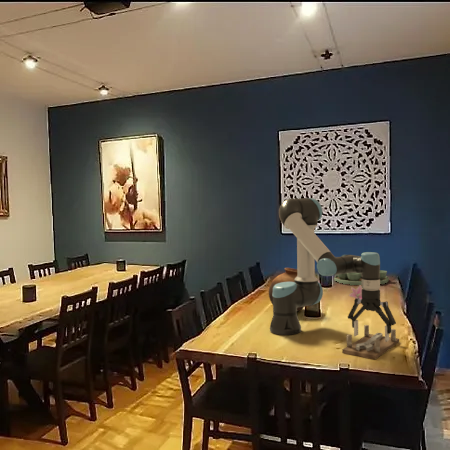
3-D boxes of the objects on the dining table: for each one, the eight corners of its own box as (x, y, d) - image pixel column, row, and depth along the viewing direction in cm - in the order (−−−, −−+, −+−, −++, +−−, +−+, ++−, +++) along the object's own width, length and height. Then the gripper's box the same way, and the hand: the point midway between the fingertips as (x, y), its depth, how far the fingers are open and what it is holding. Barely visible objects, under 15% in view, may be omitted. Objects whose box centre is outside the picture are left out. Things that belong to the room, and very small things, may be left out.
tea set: (332, 285, 340) (332, 263, 340) (336, 277, 378) (336, 257, 378) (389, 287, 328) (389, 264, 328) (387, 278, 366) (387, 257, 366)
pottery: (262, 310, 270) (261, 267, 269) (294, 305, 281) (293, 264, 279) (284, 318, 250) (283, 272, 249) (318, 312, 260) (317, 268, 259)
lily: (345, 304, 282) (350, 292, 278) (345, 293, 292) (350, 281, 288) (364, 310, 281) (370, 298, 276) (364, 299, 291) (369, 287, 286)
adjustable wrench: (377, 335, 209) (377, 331, 209) (391, 338, 205) (391, 334, 205) (353, 349, 190) (353, 345, 190) (368, 352, 186) (368, 348, 186)
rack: (342, 352, 191) (342, 337, 191) (368, 337, 212) (368, 323, 212) (375, 359, 182) (375, 343, 182) (399, 342, 203) (399, 327, 203)
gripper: (339, 287, 201) (340, 335, 202) (397, 293, 185) (397, 345, 186) (347, 284, 207) (347, 331, 208) (403, 290, 191) (403, 340, 192)
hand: (371, 338), depth 197 cm, fingers open, 13 cm apart
